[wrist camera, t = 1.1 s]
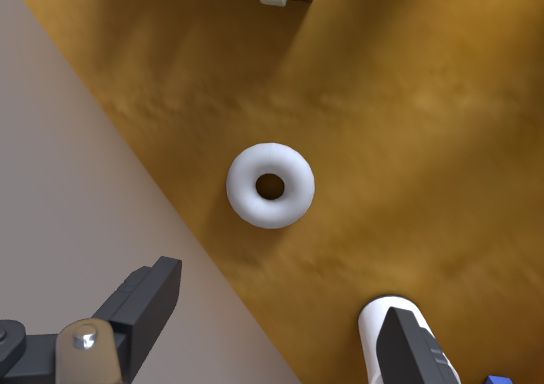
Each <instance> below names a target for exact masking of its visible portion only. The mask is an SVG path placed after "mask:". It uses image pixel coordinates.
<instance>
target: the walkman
mask: <svg viewBox="0 0 544 384" xmlns="http://www.w3.org/2000/svg"><path fill="white" fill-rule="evenodd" d="M485 384H513V383H512V382H511V380H510V379H509V378H504V377H496V376H489V375H488V378H487V380H486V383H485Z"/></svg>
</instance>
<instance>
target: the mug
mask: <svg viewBox="0 0 544 384" xmlns="http://www.w3.org/2000/svg"><path fill="white" fill-rule="evenodd" d="M391 306H393V307H397V308H402V309H407V310H411V311H413V313H414V315H415V317H416V319H417V321H418V323H419V325H420V327H424V328H426V329H427V330H428V331H429V332H430V333H431V334H432V332H431V330H430V328H429V327H428V325H427V323H426V321H425V320H424V318H423V316H422V314H421V312H420V311H419V309H418V308H417V306H416V305H415V304H414V303H413V302H411V301H410V300H409V299H406V298H404V297H401V296H397V295H383V296H379V297H376V298H374V299H372V300H370V301H369V302H368V303H367V304H366V305H364V307H363V308H362V310H361V311H360V313H359V317H358V327H359V332H360V337H361V342H362V347H363V352H364V357H365V362H366V367H367V373H368V382H369V384H384V383H383V379H382V376H381V372H380V368H379V364H378V360H377V356H376V341H377V337H378V335H379V332H380V329H381V327H382V324H383V321H384V318H385V316H386V313H387V311H388V309H389V307H391ZM432 335H433V334H432ZM433 337H434V336H433ZM434 338H435V337H434ZM443 355H444V353H443ZM445 357H446V356H445ZM446 359H447V358H446ZM447 361H448V359H447ZM448 365H450V367H451V369H452V371H453V373H454V375H455V377H456V379H457V381H458V383H459V384H461V382H460V379H459V376H458V374H457V373H456V371H455V370H454V368H453V367H452V365H451V364H450V362H449V361H448Z"/></svg>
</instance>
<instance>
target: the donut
mask: <svg viewBox="0 0 544 384" xmlns="http://www.w3.org/2000/svg"><path fill="white" fill-rule="evenodd" d="M266 173H272V174H276V175H277V176H279V177H280V178H281V179H282V180H283V182H284V185H285V189H284V193H283V194H282V196H281V197H279V198H278V199H275V200H267V199H264V198H262V197H261V196H260V195H259V194H258V193H257V190H256V187H255V185H256V181H257V179H258V178H259V177H260V176H261V175H263V174H266ZM226 189H227V196H228V199H229V201H230V203H231V205H232V207H233V209H234V210H235V211H236V212H237V214H238V215H239V216H240V217H241V218H242V219H244V220H245V221H247V222H249V223H250V224H252V225H254V226H258V227H262V228H266V229H272V228H282V227H285V226H288V225H290V224H293V223H294V222H295V221H297V220H298V219H299V218H301V217H302V216H303V215H304V214H305V212H306V211H307V209H308V208H309V206H310V205H311V202H312V198H313V195H314V191H315V189H314V177H313V174H312V172H311V169H310V167H309V164H308V163H307V162H306V161H305V160H304V159H303V157H302V156H301V155H300V154H299V153H298V152H296V151H294V150H293V149H291V148H289V147H288V146H285V145H281V144H276V143H264V144H257V145H255V146H252V147H250V148H248V149H245V150H244V151H243V152H242V153H241V154H240V155H239V156H237V157H236V158H235V160H234V162H233V163H232V165H231V167H230V169H229V171H228V176H227V181H226Z"/></svg>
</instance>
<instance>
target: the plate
mask: <svg viewBox="0 0 544 384" xmlns="http://www.w3.org/2000/svg"><path fill="white" fill-rule="evenodd" d="M260 2H261V3H262V4H265V5H273V6H281V7H284V6H285V4H286V2H287V0H260Z"/></svg>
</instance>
